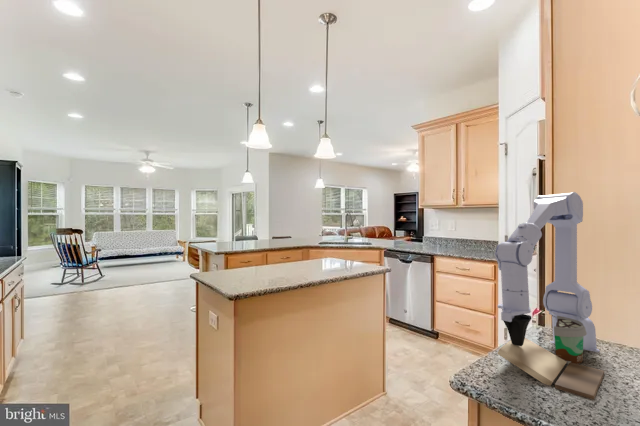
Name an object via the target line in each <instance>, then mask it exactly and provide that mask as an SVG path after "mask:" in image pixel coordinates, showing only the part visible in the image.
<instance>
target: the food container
mask: <svg viewBox="0 0 640 426" xmlns="http://www.w3.org/2000/svg"><path fill="white" fill-rule="evenodd" d="M554 335H555V344H554V348H555V355H556V356H558V357H560V358H561V359H563V360H565V361H567V363H566V365H568V364H569V363H570V362H571V363H575V364H579V365H580V364H582V363H583V361H584V359H583V357H584V350H583V336H585V335H587V332H586V329H585V327H584V326H583V323H581V322H579V321H577V320H574V319H571V318H567V317H561V316H557V323H556V327H554Z"/></svg>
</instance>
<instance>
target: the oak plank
mask: <svg viewBox="0 0 640 426" xmlns="http://www.w3.org/2000/svg"><path fill="white" fill-rule="evenodd" d="M497 355H498V356H500V357H501V358H503V359H505V360H506V361H507V362H509V363H511V364H512V365H514V366H515V367H517V368H518V369H519V370H522V371H523V372H525V373H526V374H528V375H530V376H531V377H533V378H534V379H536V380H537V381H539V382H541V383H542V384H544V385H547V386H552V385H553V383H554V382H555V380H556V379H557V378H558V376H559V375H560V374H561V372H562V371H563V369H565V368H564V367H565V366H566V365H567V364H566V363H567V361H565V360H563V359H561V358H560V357H558V356H556V354H554V353H553V352H551V351H549V350H547V349H546V348H544V347H542V346H541V345H539V344H537V343H535V342H534V341H532V340H530V339H528V338H526V337H525V339H524V343H523V345H522V346H518V345H514V344H512V342H511V339H510V340H509V341H507V342H506V343H505V344H504V345H502V346H500V348H499V349H498V351H497Z"/></svg>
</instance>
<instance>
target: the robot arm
mask: <svg viewBox="0 0 640 426" xmlns="http://www.w3.org/2000/svg"><path fill="white" fill-rule="evenodd" d="M583 219H584V202H583V200H582V197H581V196H580V194H579V193H578V192H576V191H571V192H565V193H554V194H546V195H545V194H544V195H541V194H539V195H537V196H536V197H535V199H534V201H533V211H532V213H531V214H530V216H529V218H528V220H527V221H526V222H523V223H519V224H518V225H517V227H516V229H514V231H513V232H512V234H511V235H510V236H509V238H508V239H507V240H506V241H501V243H499V244H497V246H496V248H495V252H494V259H495V260H496V262H497V265H498V267H497V268H498V270H499V271H500V275H501V276H500V277H501V281H500V282H501V297H502V299H501V300H502V301H501V303H498V304H497V309H501V313H500V315H501V316H500V317H501V319H500V321H502V322H503V324H504V325H505V327H506V329H507V332H508V334H509V338H510V340H511V342H512V344H514V345H518V346H522V345H523V343H524V339H525V338H526V335H527V334H526V333H527V329H528V326H529V324H530V322H531V320H532V315H528V314H530V313H531V312H532V311H531V307H530V293H529V278H528V277H529V276H528V275H529V273H528V272H529V271H528V266H529V265H530V264H532V261H533V254H534V251H535V246H536V245H537V244H538V242H539V241H540V240H541V238H542V236H543V233H542V228H544V226H545V225H547V223H548V224H551V225H553V227H554V236H555V237H554V281H553V282H551V283H548V284H547V285H546V286H545V290H544V291H545V292H544V294H543V297H542V298H543V299H542V303H543V307H544V308H545V310H546V311H547V312H548V314H549V315H550V316H551V322H552V338H553V339H552V340H553V341H550V343H553V344H554V345H555V335H554V327H556V323H557V316H561V317H567V318H571V319H574V320H577V321H579V322H581V323H583V326H584V327H585V329H586V332H587V335H585V336H583V351H585V350H586V351H588V352H589V351H590V352H594V353H599V352H600V351H601V350H600V349H599V348H597V333H596V326H595V324H594V322H593V321H592V319H591V318H590V316H591V315H592V313H593V303H592V300H591V294H590V293H591V292H590V291H589V290H588V289H587V288H585V287H584V286H583V285H581V284H580V283H578V225H579V224H581V223H582V222H584V221H583Z"/></svg>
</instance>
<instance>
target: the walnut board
mask: <svg viewBox="0 0 640 426" xmlns="http://www.w3.org/2000/svg"><path fill="white" fill-rule="evenodd" d="M560 374H561V375H560V376H559V377H558V379H557V380H556V382H555V383H554V389H557V390H560V391H564V392H566V393H570V394H573V395H577V396H580V397H582V398H587V399H590V400H593V401H595V398H596V396H597V393H598V391H599V389H600V386H601V384H602V381H603V380H604V376H605V370H602V369H599V368H595V367H591V366H587V365H584V364H583V365H582V364H580V363H579V364H575V363H571V362H570V363H569V364H567V366H566V367H565V368H564V370H563V372H562V373H560Z"/></svg>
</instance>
